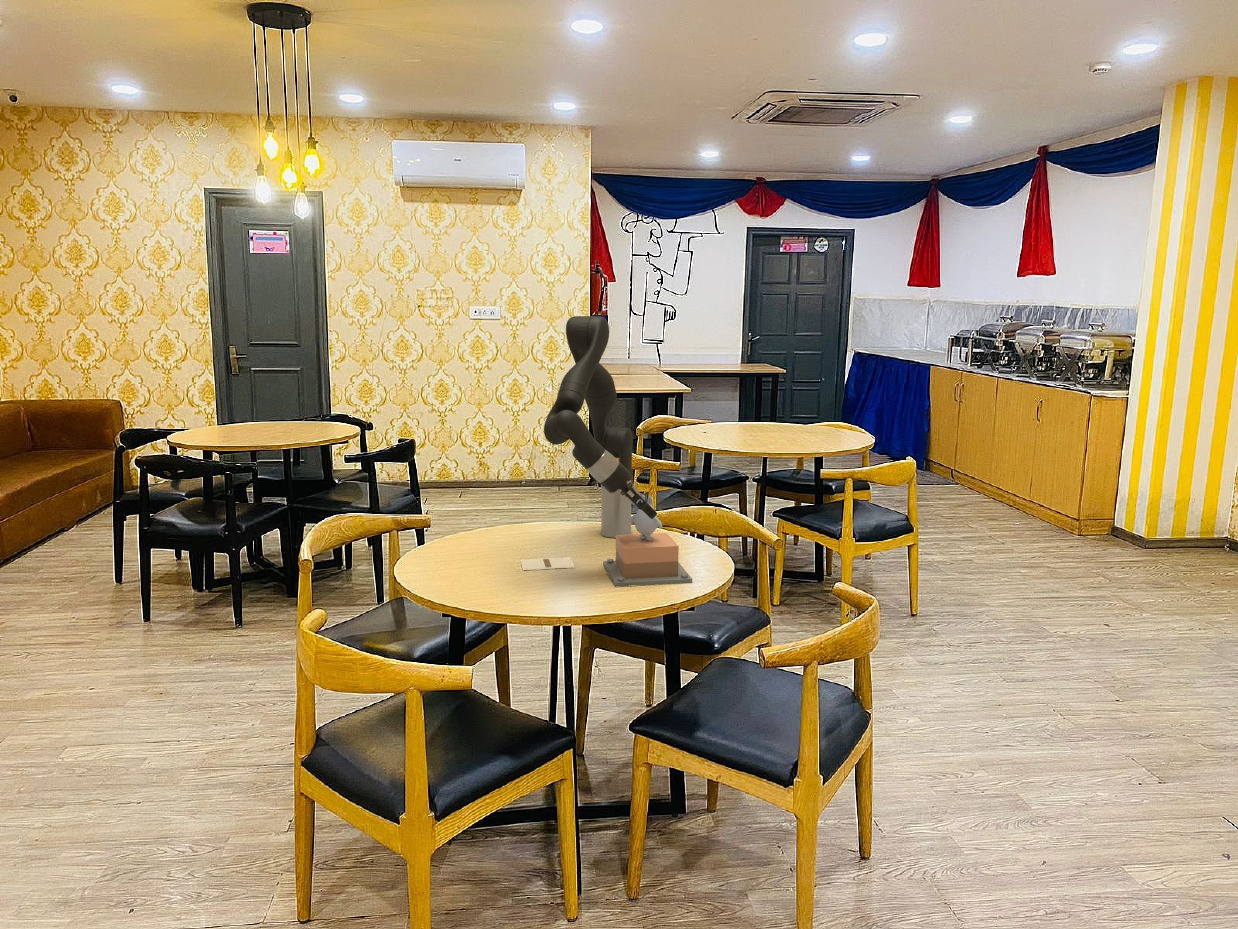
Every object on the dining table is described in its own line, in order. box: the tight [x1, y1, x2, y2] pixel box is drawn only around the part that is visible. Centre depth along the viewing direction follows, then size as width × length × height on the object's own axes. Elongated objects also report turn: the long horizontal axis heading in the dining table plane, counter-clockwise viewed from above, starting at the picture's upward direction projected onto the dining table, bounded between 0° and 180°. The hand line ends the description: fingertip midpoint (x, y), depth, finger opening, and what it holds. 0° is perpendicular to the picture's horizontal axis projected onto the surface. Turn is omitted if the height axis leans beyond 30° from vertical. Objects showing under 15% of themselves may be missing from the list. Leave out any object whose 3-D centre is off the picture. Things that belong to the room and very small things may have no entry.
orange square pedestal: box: [602, 532, 693, 588], centre depth 242 cm, size 20×20×9 cm
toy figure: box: [630, 494, 663, 541], centre depth 241 cm, size 11×6×12 cm, turn 50°
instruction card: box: [520, 556, 576, 572], centre depth 252 cm, size 10×14×1 cm
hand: (651, 512), depth 240 cm, fingers open, 8 cm apart
